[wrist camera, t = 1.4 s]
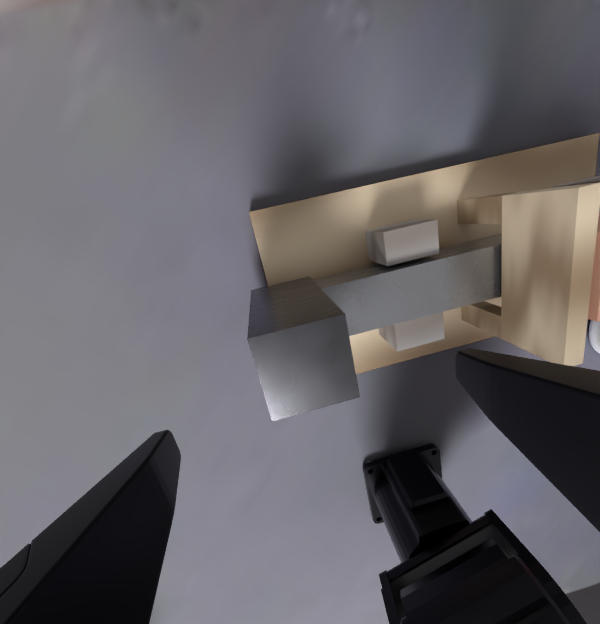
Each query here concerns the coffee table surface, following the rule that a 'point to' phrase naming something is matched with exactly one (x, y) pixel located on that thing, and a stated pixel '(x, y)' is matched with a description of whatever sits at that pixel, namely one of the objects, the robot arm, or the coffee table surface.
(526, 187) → the rail
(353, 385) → the grey metal bar
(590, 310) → the block
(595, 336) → the pill bottle
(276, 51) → the coffee table surface
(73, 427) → the coffee table surface
